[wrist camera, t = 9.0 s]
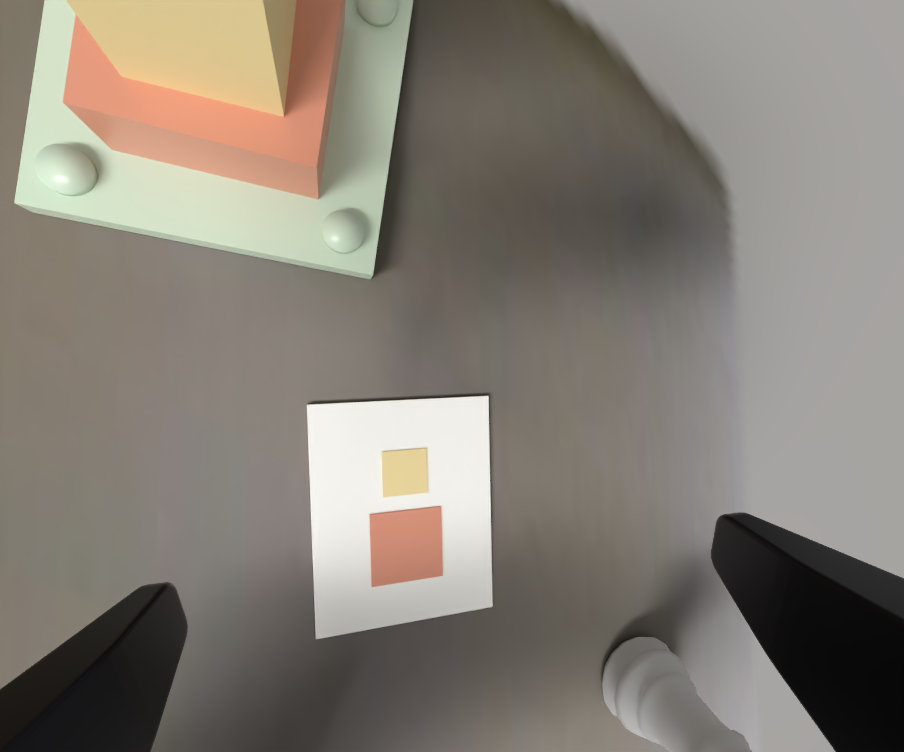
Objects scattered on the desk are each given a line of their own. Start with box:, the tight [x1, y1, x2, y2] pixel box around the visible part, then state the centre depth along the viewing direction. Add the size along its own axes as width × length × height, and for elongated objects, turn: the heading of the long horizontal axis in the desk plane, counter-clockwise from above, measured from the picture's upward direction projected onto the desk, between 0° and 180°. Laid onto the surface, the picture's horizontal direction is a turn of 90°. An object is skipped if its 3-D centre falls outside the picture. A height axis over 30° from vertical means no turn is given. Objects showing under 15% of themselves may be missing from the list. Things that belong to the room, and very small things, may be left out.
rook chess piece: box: [602, 637, 752, 752], centre depth 20 cm, size 4×4×8 cm
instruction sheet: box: [307, 396, 493, 639], centre depth 20 cm, size 10×8×1 cm
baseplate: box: [15, 0, 413, 279], centre depth 16 cm, size 12×12×4 cm
